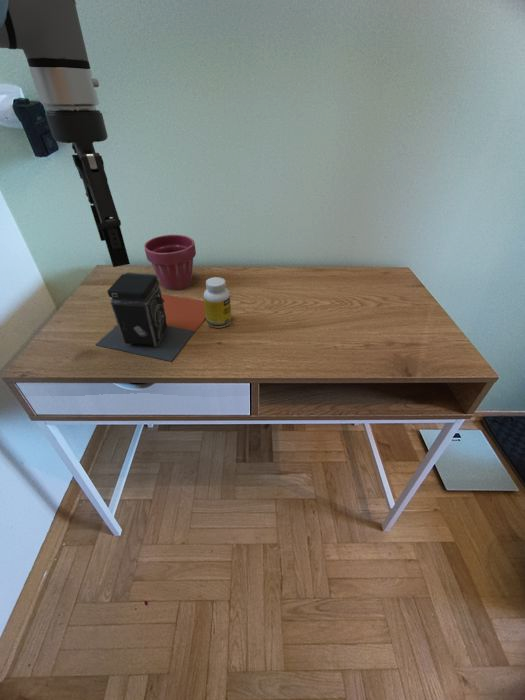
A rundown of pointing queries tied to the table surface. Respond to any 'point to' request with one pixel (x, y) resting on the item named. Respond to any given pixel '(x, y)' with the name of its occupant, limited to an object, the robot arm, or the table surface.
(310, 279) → the table surface
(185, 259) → the flower pot
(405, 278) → the table surface
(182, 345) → the desk mat
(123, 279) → the camera
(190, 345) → the table surface
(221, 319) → the pill bottle
